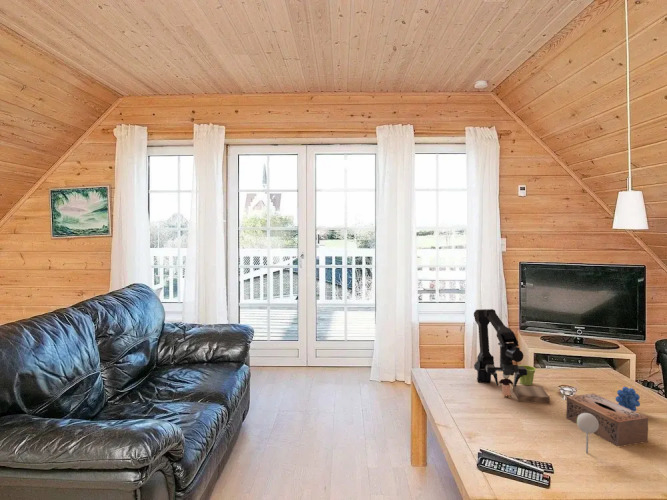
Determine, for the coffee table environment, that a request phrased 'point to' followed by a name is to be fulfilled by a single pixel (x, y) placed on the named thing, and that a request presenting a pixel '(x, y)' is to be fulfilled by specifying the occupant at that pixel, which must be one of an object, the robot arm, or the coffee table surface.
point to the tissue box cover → (610, 419)
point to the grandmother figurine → (506, 386)
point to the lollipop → (587, 425)
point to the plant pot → (528, 375)
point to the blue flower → (628, 398)
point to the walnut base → (531, 394)
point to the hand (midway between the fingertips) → (505, 386)
